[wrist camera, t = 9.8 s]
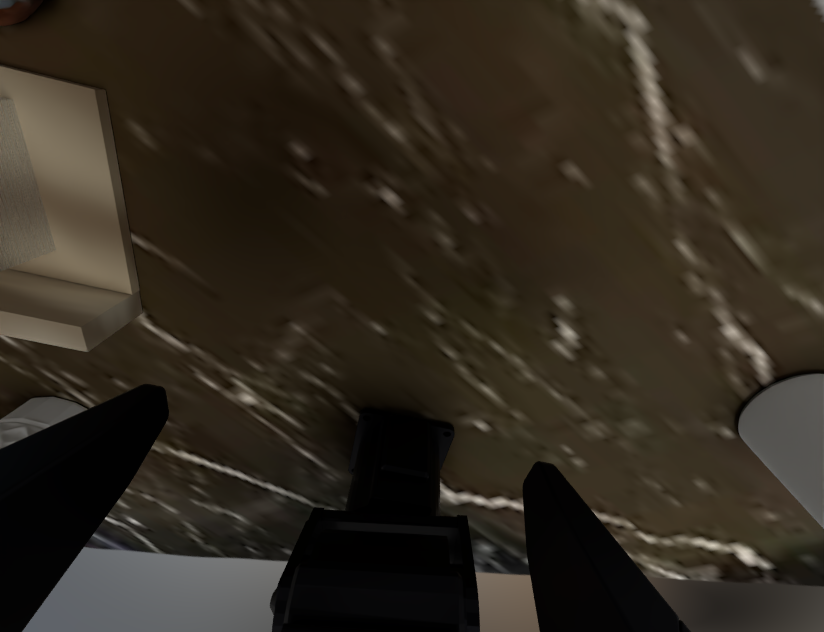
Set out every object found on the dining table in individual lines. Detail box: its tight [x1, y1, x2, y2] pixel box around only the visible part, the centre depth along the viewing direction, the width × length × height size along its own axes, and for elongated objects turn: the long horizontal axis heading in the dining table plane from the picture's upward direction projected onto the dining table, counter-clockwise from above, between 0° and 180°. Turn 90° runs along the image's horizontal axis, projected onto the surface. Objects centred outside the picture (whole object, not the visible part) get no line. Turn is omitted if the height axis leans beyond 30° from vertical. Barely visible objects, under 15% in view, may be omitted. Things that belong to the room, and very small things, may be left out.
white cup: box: [0, 397, 87, 449], centre depth 23 cm, size 8×8×10 cm
